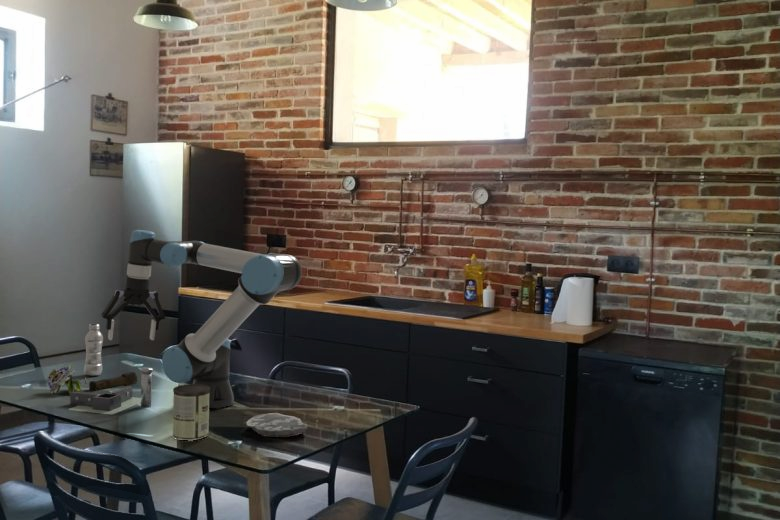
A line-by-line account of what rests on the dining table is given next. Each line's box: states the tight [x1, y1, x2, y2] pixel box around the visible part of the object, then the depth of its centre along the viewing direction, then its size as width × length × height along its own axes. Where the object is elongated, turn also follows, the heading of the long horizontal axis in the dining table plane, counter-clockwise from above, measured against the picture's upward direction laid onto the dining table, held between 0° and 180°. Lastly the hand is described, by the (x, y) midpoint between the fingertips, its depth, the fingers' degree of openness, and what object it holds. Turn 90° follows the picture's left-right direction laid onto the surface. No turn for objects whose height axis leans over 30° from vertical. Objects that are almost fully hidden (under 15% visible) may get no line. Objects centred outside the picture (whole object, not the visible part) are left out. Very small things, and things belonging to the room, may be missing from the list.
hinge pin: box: [140, 366, 154, 409], centre depth 236 cm, size 4×4×13 cm
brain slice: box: [245, 412, 309, 435], centre depth 216 cm, size 20×17×3 cm
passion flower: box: [46, 364, 88, 396], centre depth 250 cm, size 11×11×12 cm
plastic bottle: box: [83, 323, 104, 377], centre depth 277 cm, size 6×7×20 cm
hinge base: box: [69, 391, 121, 411], centre depth 233 cm, size 16×6×4 cm, turn 77°
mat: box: [68, 396, 141, 416], centre depth 237 cm, size 16×21×1 cm
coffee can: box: [172, 383, 210, 442], centre depth 208 cm, size 10×10×14 cm
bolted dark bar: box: [111, 385, 133, 402], centre depth 240 cm, size 1×10×4 cm, turn 167°
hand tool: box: [88, 371, 138, 392], centre depth 261 cm, size 19×4×5 cm, turn 144°
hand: (131, 339), depth 240 cm, fingers open, 13 cm apart
